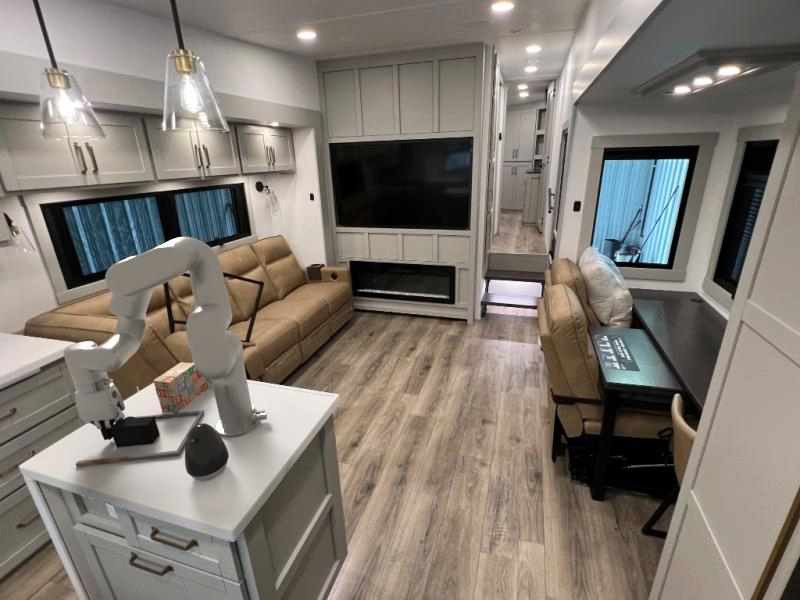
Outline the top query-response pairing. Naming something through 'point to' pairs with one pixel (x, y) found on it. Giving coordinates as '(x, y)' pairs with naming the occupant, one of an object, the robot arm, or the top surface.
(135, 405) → the top surface
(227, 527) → the top surface
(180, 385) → the stack of blocks
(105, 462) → the shelf lane
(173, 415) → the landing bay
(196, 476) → the black rounded mouse
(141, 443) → the digital camera
